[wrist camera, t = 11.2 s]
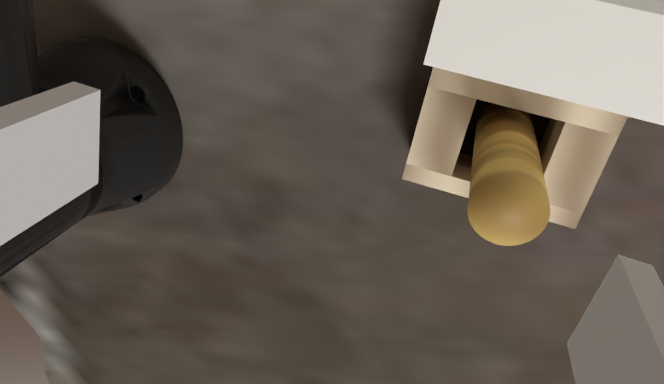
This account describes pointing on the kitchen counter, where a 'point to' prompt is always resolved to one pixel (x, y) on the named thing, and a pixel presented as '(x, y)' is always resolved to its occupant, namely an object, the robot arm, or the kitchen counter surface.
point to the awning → (559, 49)
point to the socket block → (555, 149)
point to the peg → (507, 178)
